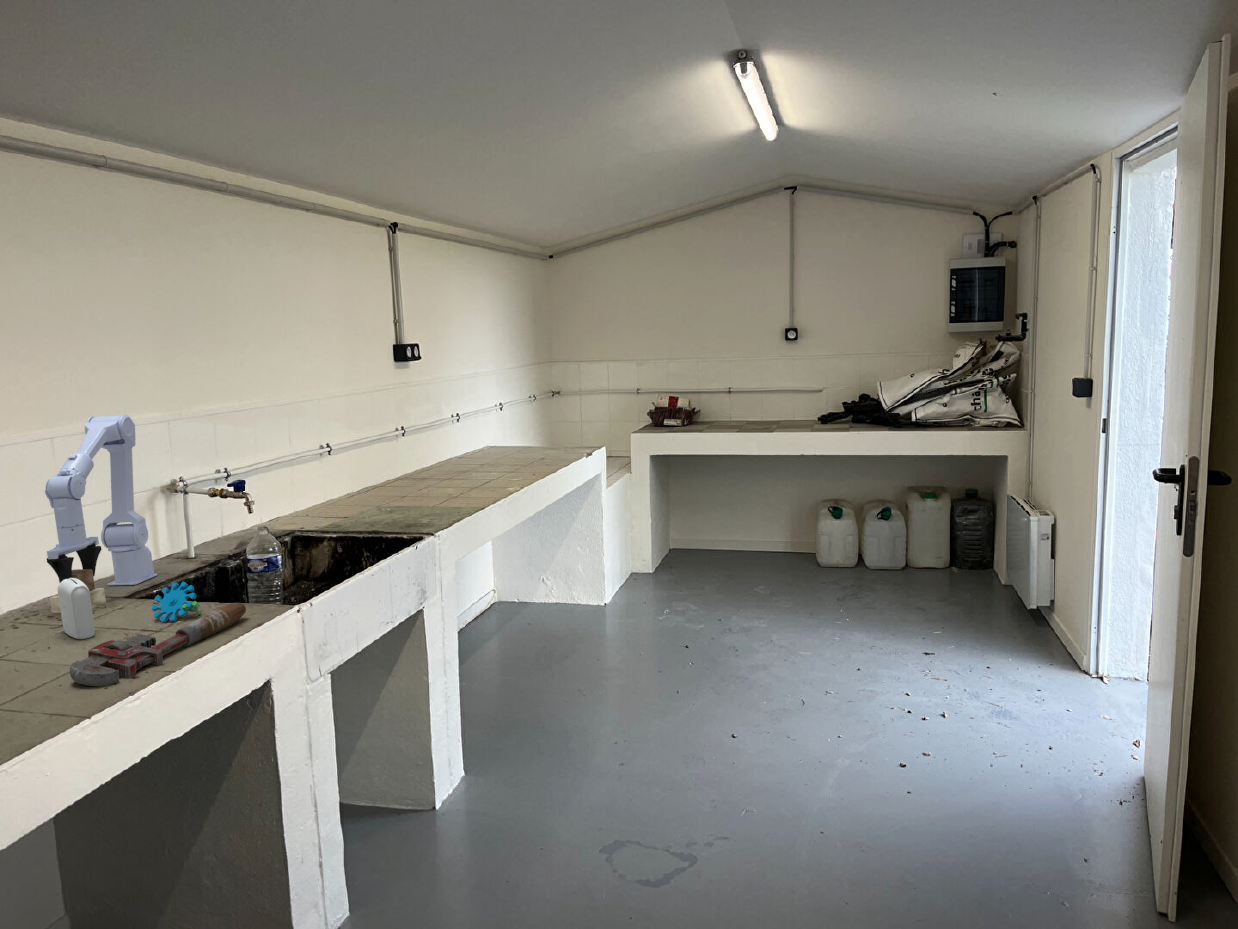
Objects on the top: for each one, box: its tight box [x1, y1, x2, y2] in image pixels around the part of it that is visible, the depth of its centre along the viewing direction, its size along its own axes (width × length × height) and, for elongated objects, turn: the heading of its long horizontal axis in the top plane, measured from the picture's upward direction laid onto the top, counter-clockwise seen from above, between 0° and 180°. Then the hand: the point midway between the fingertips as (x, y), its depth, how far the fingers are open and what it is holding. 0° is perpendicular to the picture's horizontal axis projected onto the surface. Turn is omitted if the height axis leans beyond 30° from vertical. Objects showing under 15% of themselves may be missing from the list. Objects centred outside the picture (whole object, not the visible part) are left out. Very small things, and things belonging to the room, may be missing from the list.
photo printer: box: [57, 578, 96, 640], centre depth 194 cm, size 10×4×12 cm, turn 47°
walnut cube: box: [58, 568, 96, 591], centre depth 216 cm, size 5×5×5 cm
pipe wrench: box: [69, 602, 247, 687], centre depth 182 cm, size 40×12×5 cm, turn 165°
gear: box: [151, 581, 203, 624], centre depth 204 cm, size 11×6×10 cm
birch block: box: [49, 587, 107, 614], centre depth 216 cm, size 8×8×4 cm
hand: (78, 581), depth 216 cm, fingers open, 7 cm apart
